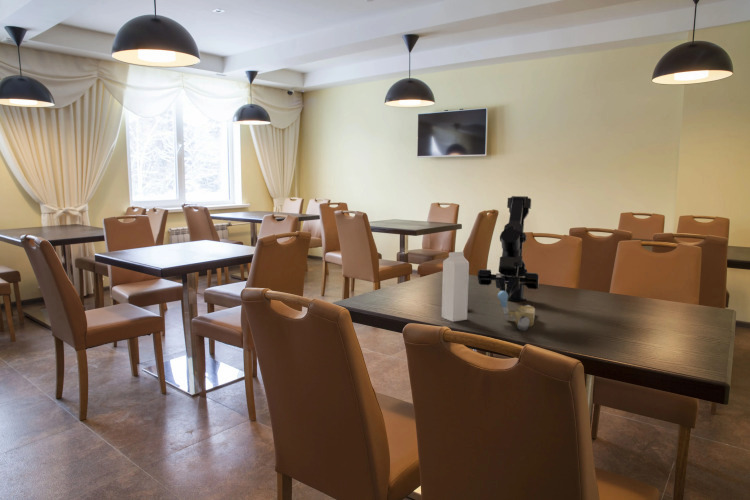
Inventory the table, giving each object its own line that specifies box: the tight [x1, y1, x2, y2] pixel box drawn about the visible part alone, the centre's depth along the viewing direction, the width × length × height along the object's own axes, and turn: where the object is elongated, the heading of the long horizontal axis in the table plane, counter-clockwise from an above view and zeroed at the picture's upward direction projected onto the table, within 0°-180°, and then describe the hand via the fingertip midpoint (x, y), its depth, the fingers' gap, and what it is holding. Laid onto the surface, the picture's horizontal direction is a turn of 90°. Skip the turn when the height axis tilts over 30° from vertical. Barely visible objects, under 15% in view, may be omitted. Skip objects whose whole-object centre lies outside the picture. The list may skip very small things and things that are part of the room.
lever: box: [497, 290, 509, 318], centre depth 156 cm, size 3×3×18 cm
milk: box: [441, 251, 470, 322], centre depth 162 cm, size 6×6×22 cm
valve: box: [508, 304, 536, 332], centre depth 160 cm, size 22×8×4 cm, turn 159°
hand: (505, 301), depth 156 cm, fingers closed, pressing on lever
